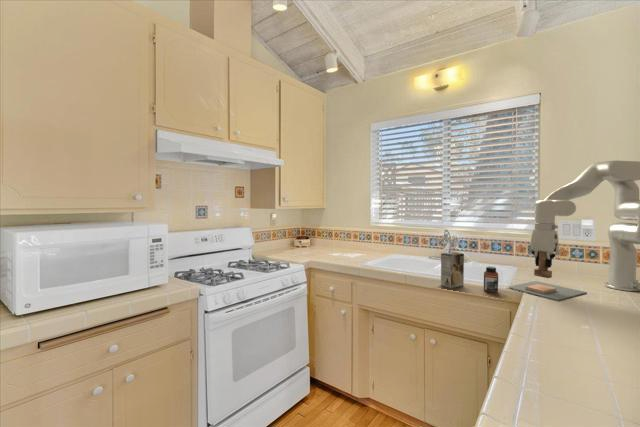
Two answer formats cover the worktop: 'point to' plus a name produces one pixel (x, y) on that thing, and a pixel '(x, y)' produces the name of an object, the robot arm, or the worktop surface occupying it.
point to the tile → (540, 288)
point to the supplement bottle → (491, 280)
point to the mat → (557, 296)
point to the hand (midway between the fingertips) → (543, 266)
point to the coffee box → (452, 269)
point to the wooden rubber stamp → (542, 266)
